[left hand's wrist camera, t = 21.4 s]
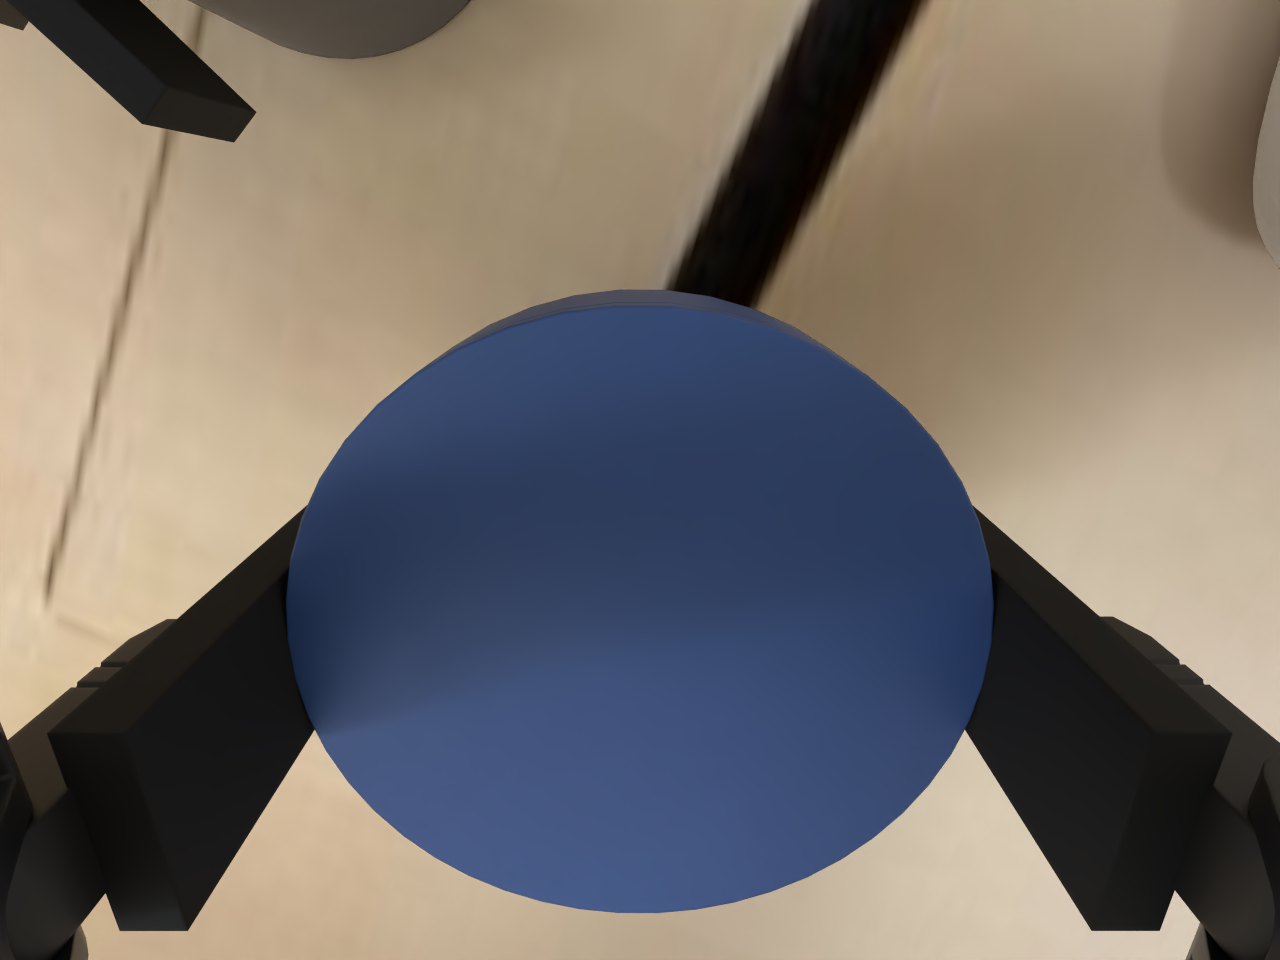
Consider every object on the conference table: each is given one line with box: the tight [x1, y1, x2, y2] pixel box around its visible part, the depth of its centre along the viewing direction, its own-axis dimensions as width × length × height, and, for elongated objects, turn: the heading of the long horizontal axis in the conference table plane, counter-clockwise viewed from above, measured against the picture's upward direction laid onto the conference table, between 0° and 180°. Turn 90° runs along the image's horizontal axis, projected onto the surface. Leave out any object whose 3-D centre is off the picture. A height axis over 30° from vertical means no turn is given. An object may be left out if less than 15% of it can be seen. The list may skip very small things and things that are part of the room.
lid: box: [286, 290, 994, 913], centre depth 11 cm, size 10×10×2 cm
